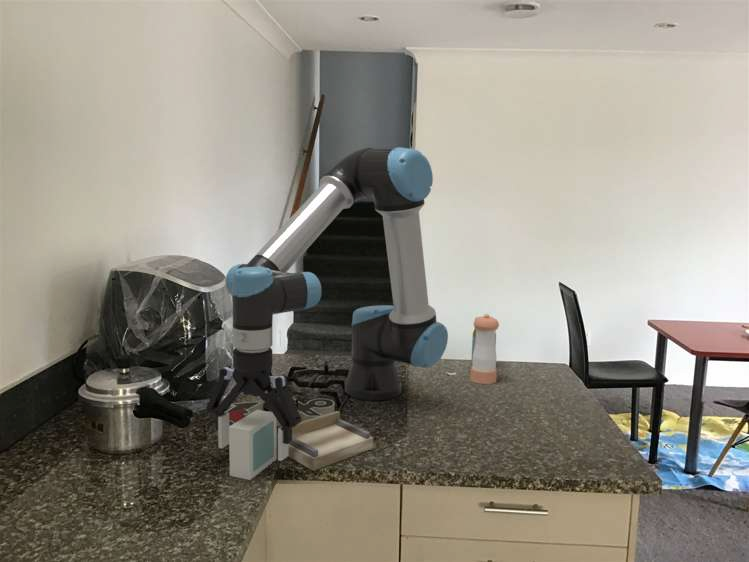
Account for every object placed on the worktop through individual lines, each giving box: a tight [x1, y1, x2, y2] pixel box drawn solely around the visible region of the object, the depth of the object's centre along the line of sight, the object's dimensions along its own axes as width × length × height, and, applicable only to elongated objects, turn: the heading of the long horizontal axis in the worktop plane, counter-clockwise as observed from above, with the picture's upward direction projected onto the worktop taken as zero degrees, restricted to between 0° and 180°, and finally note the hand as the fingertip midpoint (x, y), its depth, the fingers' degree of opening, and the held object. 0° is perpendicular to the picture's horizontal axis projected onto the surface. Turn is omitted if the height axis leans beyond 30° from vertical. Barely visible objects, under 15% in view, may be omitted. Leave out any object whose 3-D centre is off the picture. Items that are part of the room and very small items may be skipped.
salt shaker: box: [470, 314, 500, 385], centre depth 188 cm, size 7×7×19 cm
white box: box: [228, 409, 278, 481], centre depth 131 cm, size 5×10×10 cm, turn 158°
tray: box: [287, 410, 374, 472], centre depth 140 cm, size 12×16×5 cm
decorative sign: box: [224, 397, 336, 446], centre depth 155 cm, size 22×3×30 cm
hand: (253, 452), depth 132 cm, fingers open, 13 cm apart
